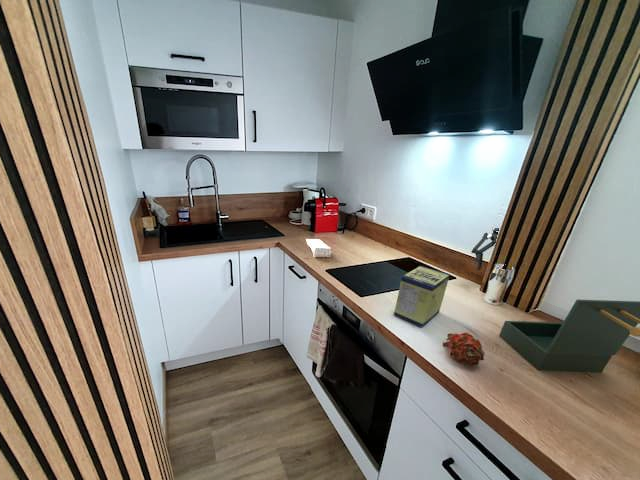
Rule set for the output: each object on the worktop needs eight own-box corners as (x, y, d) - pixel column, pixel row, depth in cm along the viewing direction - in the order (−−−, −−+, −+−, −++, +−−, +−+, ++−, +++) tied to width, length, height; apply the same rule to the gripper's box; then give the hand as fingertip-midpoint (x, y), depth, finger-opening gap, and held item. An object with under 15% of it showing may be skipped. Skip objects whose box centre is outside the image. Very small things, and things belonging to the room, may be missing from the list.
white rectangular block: (305, 250, 179) (315, 261, 152) (303, 239, 177) (312, 249, 150) (321, 246, 179) (333, 257, 152) (319, 235, 177) (330, 244, 150)
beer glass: (506, 306, 110) (520, 271, 104) (486, 304, 111) (499, 269, 105) (496, 298, 116) (509, 264, 110) (478, 296, 117) (490, 262, 111)
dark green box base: (498, 335, 92) (504, 320, 90) (552, 337, 92) (560, 322, 90) (538, 370, 78) (546, 353, 76) (602, 372, 78) (612, 355, 76)
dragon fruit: (472, 379, 76) (443, 355, 88) (499, 362, 76) (467, 339, 87) (459, 357, 74) (431, 335, 86) (487, 339, 74) (455, 319, 85)
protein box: (439, 312, 105) (450, 273, 99) (422, 328, 95) (433, 286, 89) (411, 301, 112) (420, 265, 106) (392, 315, 102) (401, 276, 96)
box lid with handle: (576, 299, 69) (619, 324, 60) (649, 301, 69) (702, 327, 60) (546, 351, 76) (580, 380, 67) (611, 353, 76) (654, 382, 67)
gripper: (537, 235, 117) (534, 282, 111) (467, 227, 127) (460, 269, 120) (546, 225, 111) (544, 274, 104) (472, 217, 120) (465, 262, 114)
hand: (499, 272), depth 112 cm, fingers open, 13 cm apart
